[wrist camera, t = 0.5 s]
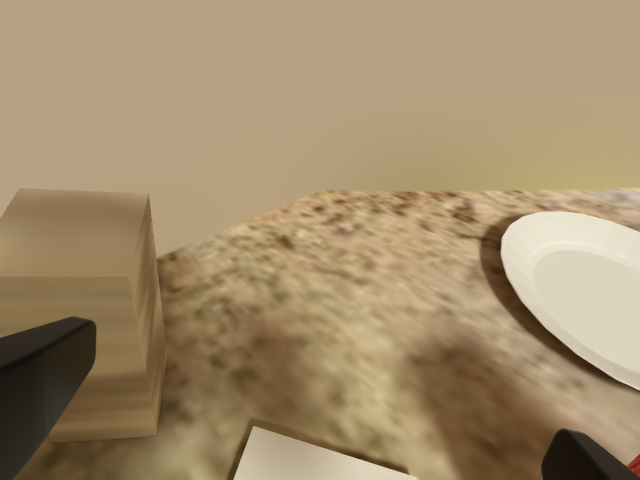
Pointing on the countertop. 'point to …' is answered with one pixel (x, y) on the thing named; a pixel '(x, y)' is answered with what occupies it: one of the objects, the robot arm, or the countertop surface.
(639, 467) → the stack of blocks
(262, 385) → the countertop surface
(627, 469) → the robot arm
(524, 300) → the plate
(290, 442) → the tile
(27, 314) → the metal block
